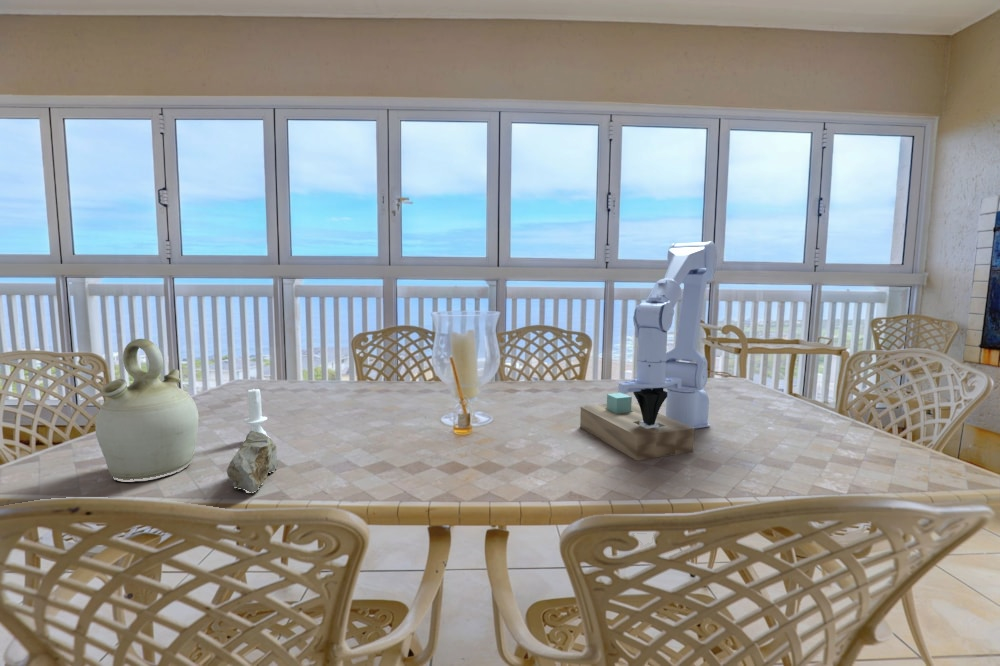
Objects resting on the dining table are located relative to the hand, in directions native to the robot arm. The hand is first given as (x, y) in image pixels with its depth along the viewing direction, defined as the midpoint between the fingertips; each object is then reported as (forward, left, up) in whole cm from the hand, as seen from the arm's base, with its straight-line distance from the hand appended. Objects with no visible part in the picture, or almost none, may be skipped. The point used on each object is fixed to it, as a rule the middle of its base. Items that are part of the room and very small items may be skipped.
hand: (648, 423), depth 99 cm
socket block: (0, -6, -5) cm, 8 cm away
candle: (+79, -34, -5) cm, 86 cm away
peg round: (0, 0, -5) cm, 5 cm away
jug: (+95, -23, -5) cm, 98 cm away
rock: (+77, -10, -5) cm, 78 cm away
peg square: (0, -11, -2) cm, 11 cm away
